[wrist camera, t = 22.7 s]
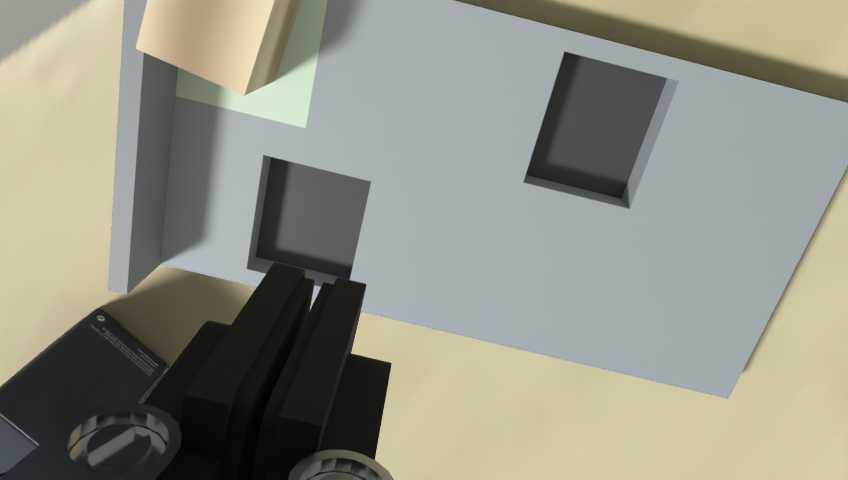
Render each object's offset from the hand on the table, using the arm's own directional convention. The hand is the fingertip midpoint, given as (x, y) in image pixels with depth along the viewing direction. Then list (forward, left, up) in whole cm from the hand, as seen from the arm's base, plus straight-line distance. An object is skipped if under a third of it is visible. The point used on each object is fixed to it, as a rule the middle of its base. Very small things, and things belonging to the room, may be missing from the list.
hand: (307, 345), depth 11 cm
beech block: (+9, -3, -23) cm, 25 cm away
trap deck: (-5, +3, -25) cm, 26 cm away
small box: (+17, +23, -25) cm, 38 cm away
